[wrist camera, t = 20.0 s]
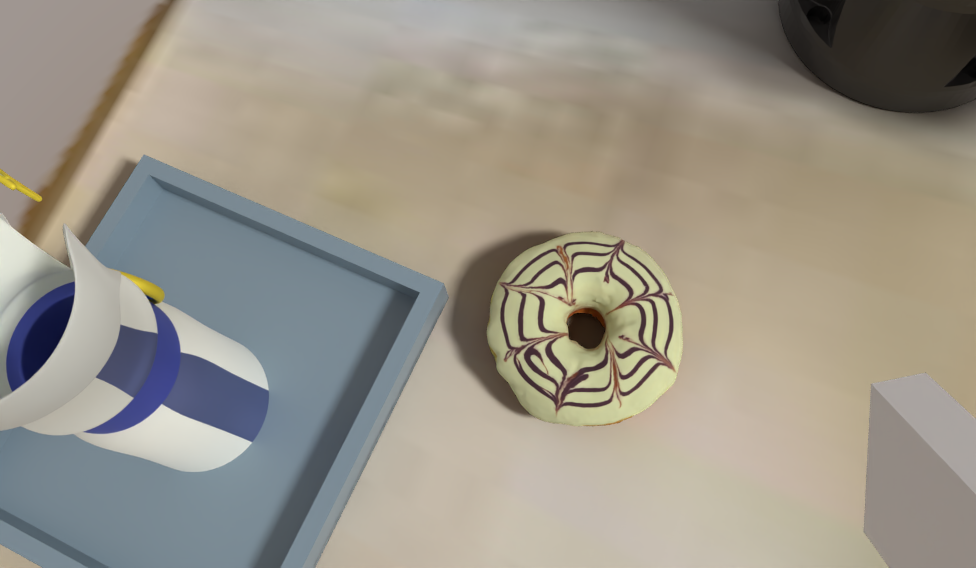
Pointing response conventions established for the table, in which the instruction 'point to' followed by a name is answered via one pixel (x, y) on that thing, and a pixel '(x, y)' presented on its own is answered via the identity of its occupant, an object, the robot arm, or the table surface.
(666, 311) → the decorated donut
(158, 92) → the table surface
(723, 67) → the table surface
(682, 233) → the table surface
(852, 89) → the robot arm
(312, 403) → the blue-gray tray
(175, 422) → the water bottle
